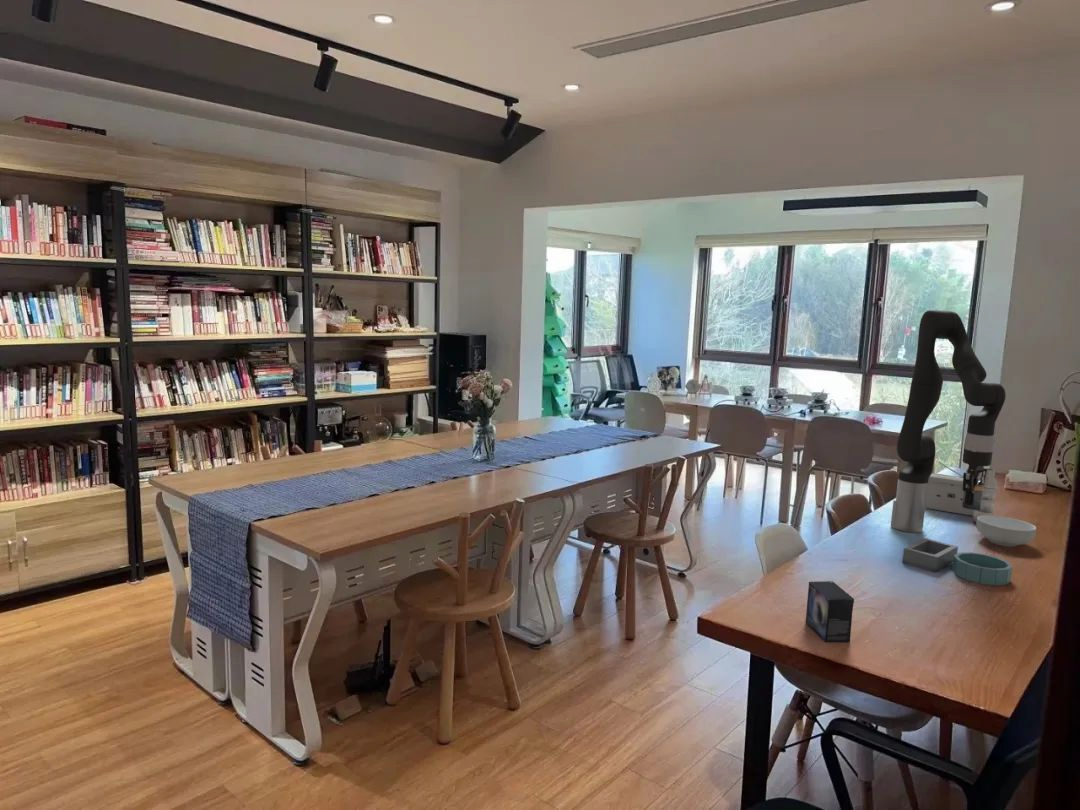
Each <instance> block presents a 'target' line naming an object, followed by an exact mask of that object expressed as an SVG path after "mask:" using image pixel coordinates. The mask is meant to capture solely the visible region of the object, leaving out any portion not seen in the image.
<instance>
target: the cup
mask: <svg viewBox="0 0 1080 810" xmlns="http://www.w3.org/2000/svg"><path fill="white" fill-rule="evenodd" d="M951 571H952V572H953V573H954V575H956V576H958V577H960V578H961V579H963V580H966V581H970V582H974V583H977V584H981V585H989V586H1005V585H1006V586H1007V585H1008V584H1010V583H1011V581H1012V575H1013V574H1012V572H1013V565H1012V564H1011V563H1010V562H1009V561H1007V560H1005V559H1003V558H1001V557H997V556H993V555H989V554H985V553H979V552H969V551H966V552H965V551H964V552H957V554H955V555H954V560H953V563H952V570H951Z"/></svg>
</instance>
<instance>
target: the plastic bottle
mask: <svg viewBox="0 0 1080 810" xmlns="http://www.w3.org/2000/svg"><path fill="white" fill-rule="evenodd" d="M995 476H996V470H995V469H992V468H987V473H986V478H985V483H984V488H983V494H982V502H981V509H980V510H974V511H973V515H972V520H973V523H977V517H979V516H995V515H994V507H995V506H994V503H995V499H996V494H997V489H998V486H999V485H998V482H997V480H996V478H995ZM980 480H981V479H980Z"/></svg>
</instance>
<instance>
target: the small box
mask: <svg viewBox="0 0 1080 810" xmlns="http://www.w3.org/2000/svg"><path fill="white" fill-rule="evenodd" d="M807 590H808V591H807V601H806V614H805V623H806V624H807V625H808V626H809V627H810V628H811V629H812V630H813V632H814V633H816V634H817V636H818V637H820V638H821V640H822V641H823V640H824V641H825V643H850V642H851V634H852V623H853V622H852V621H853V620H852V619H853V611H854V602H855V599H854V597H852V596H851V595H850V594H849V593H848V592H846V591H845V590H844V589H843V588H841V587H840V586H839V585H838V584H837V583H836V582H834V581H829V580H827V581H808V588H807ZM824 641H823V642H824Z"/></svg>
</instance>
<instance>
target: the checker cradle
mask: <svg viewBox="0 0 1080 810" xmlns="http://www.w3.org/2000/svg"><path fill="white" fill-rule="evenodd" d="M958 550H959V546H958V545H953V544H950V543H946V542H941V541H937V540H935V539H929V538H926V537H925V538H923V539H920V540H919V541H916V542H915V543H911V544H910V545H908V546H905V547H904V548H903V552H902V553H903V554H902V564H906V565H910V566H912V567H916V568H919V569H924V570H927V571H931V572H934V573H937V572H939V571H941V570H943V569H944V568H946V567H948V566H949V565H951V564H953V560H954V555H955V554H957V553H958Z"/></svg>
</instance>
